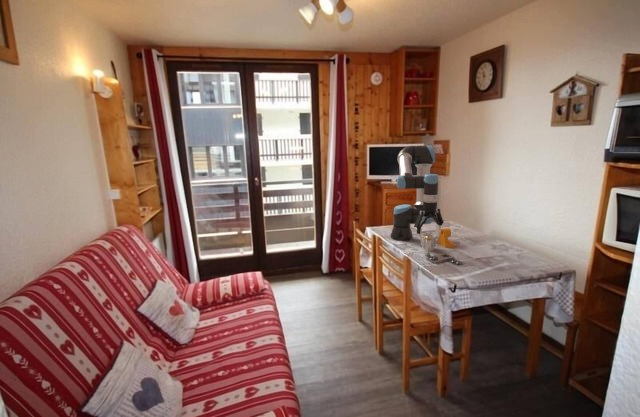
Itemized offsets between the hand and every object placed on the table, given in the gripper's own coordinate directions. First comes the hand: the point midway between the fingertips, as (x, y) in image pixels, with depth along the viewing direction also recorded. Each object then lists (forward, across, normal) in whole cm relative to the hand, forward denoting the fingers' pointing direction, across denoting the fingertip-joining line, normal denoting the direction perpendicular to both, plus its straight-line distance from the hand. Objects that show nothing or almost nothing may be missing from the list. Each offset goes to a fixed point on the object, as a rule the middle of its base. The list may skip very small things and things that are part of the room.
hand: (428, 237), depth 186 cm
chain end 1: (+11, +2, -8) cm, 14 cm away
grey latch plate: (+13, +6, -11) cm, 18 cm away
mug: (+13, +9, +10) cm, 19 cm away
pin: (+13, 0, 0) cm, 13 cm away
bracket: (+13, +25, +10) cm, 30 cm away
